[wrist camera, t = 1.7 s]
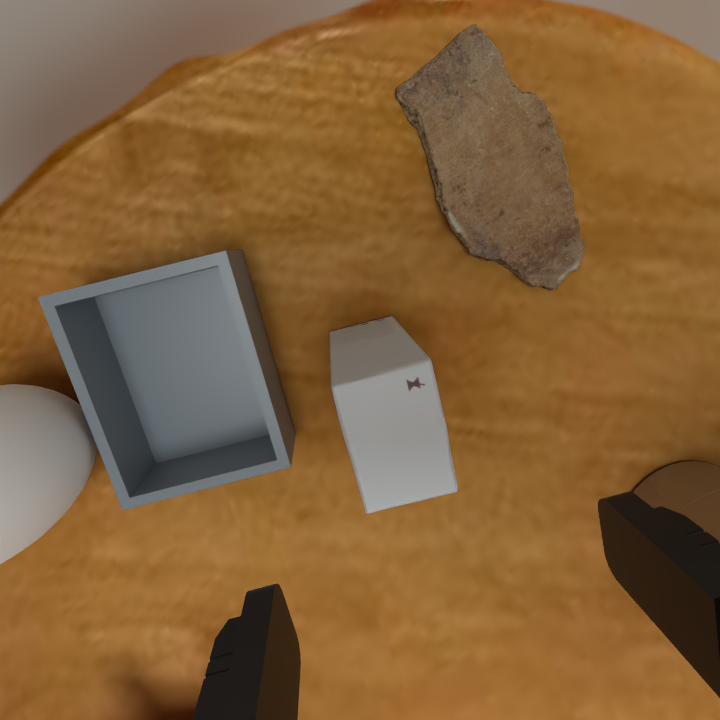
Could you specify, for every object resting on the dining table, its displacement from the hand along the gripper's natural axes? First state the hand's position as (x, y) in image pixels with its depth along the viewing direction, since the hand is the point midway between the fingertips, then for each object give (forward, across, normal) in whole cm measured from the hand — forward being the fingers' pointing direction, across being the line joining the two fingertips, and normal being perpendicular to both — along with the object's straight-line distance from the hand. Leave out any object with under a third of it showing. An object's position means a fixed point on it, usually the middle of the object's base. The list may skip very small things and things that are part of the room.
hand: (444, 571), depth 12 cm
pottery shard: (+21, -10, -10) cm, 25 cm away
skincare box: (+20, 0, 0) cm, 20 cm away
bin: (+20, +10, -3) cm, 23 cm away
